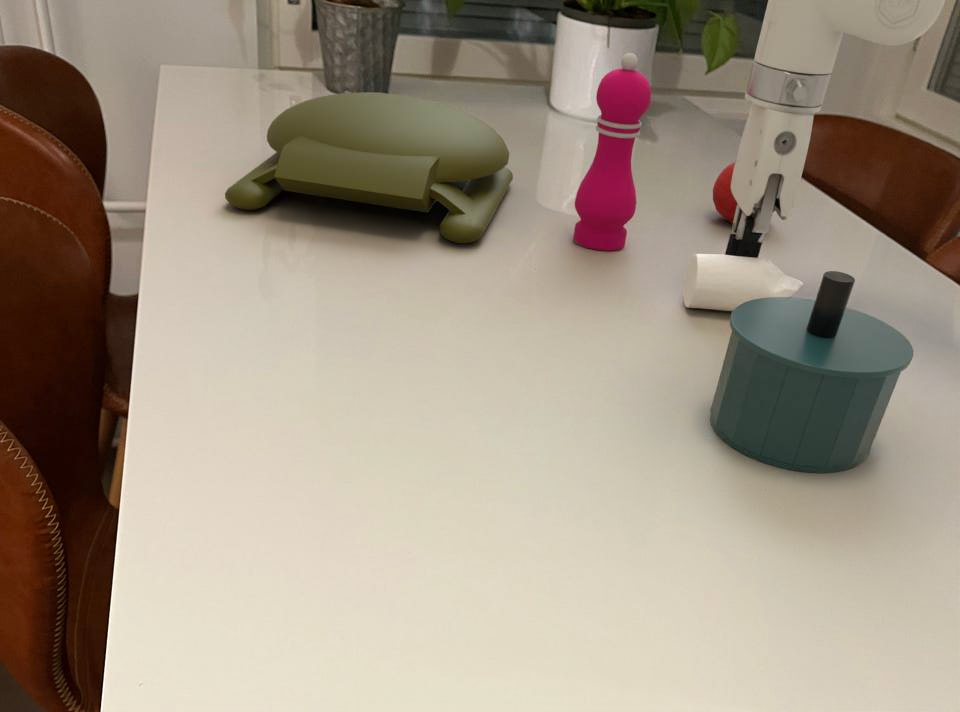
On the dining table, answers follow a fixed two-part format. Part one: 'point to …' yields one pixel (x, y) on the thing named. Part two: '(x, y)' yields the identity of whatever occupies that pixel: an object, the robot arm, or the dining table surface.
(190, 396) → the dining table surface
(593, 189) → the pepper mill
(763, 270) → the white bottle
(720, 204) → the tomato
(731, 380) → the pot
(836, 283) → the pot lid
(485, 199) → the spaceship
